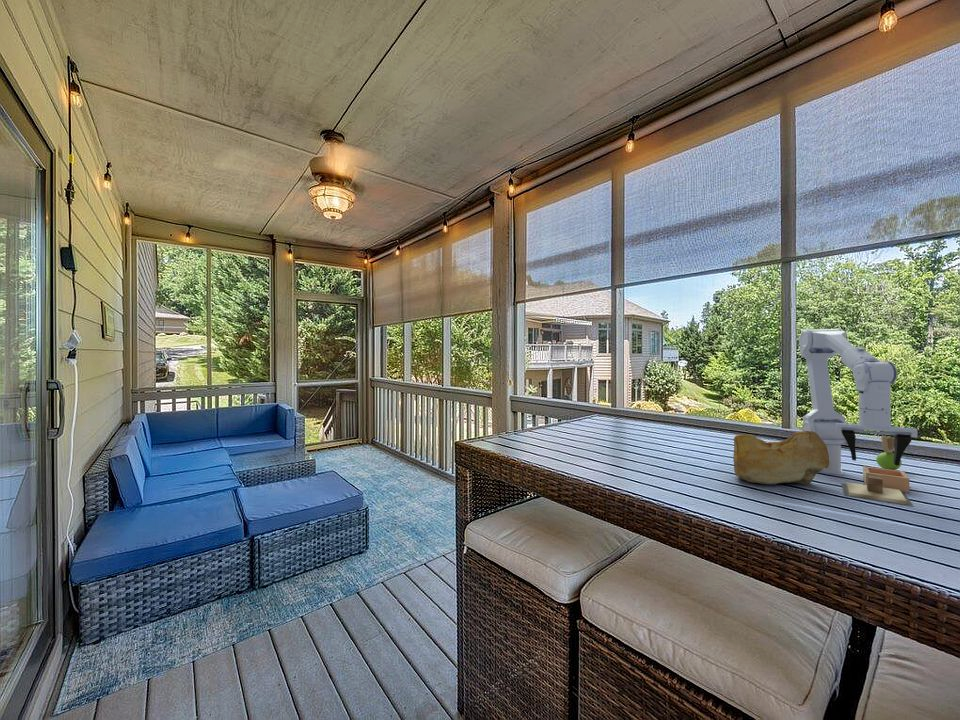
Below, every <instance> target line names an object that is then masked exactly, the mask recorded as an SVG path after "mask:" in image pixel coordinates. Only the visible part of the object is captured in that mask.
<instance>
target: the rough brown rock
mask: <svg viewBox="0 0 960 720" xmlns="http://www.w3.org/2000/svg"><path fill="white" fill-rule="evenodd" d="M732 458H733V468H734V469H733V471H734V474H735V476H736V477H737V478H739V479H741V480H744V481H746V482H748V483H753V484H756V483H757V484H763V485H777V484H784V483H786V484H787V483H796V484H801V485H809V484H810V483H812V481H813V480H814V478H815V477H816V475H817V474H818V473H821V472H820V471H822V470H823V469H824V468H828V466H829V455H828V451H827V447H826V445H825V443H824V441H823V440H821V438H820V437H819V435H818V434H816V433H815V432H813V431H801V430H800V431H795V432H793V433H792V435H790V436H789V437H788V438H787V439H783V440H780V441H771V442H770V441H769V442H768V441H765V440H764V439H760V438H759V437H757V436H755V435H754V434H736V435H735V436H734V437H733V457H732Z"/></svg>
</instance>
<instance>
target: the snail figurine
mask: <svg viewBox="0 0 960 720" xmlns="http://www.w3.org/2000/svg"><path fill="white" fill-rule="evenodd" d="M881 447H882V451H884V452H880V453H879V454H877V456H876V463H877V464H878V466H879V468H881V469H889V470H898V469H899V468H900V467H901V466H902V463H903V462H902V459H900V463H899V465H895V464H894V436H893V437H892V435H889V436H887V435H881Z"/></svg>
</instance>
